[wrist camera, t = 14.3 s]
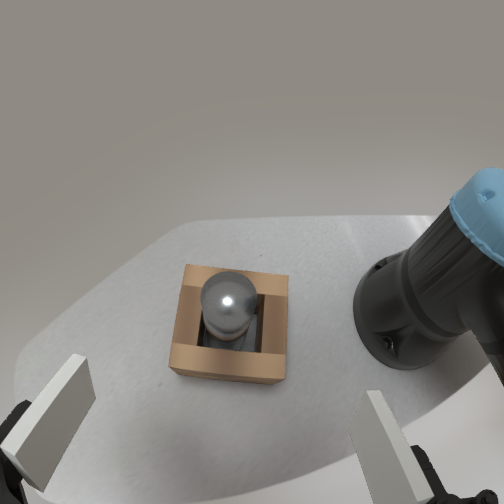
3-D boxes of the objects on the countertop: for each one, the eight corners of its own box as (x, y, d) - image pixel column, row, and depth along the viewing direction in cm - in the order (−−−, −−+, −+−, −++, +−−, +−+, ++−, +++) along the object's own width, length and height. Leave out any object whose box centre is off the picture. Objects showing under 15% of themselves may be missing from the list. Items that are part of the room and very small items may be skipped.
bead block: (277, 298, 33) (288, 275, 28) (273, 384, 28) (284, 379, 23) (191, 288, 33) (185, 264, 28) (178, 374, 28) (168, 366, 23)
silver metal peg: (245, 321, 32) (258, 274, 21) (242, 356, 30) (255, 327, 19) (209, 317, 31) (204, 268, 21) (205, 352, 29) (196, 320, 19)
